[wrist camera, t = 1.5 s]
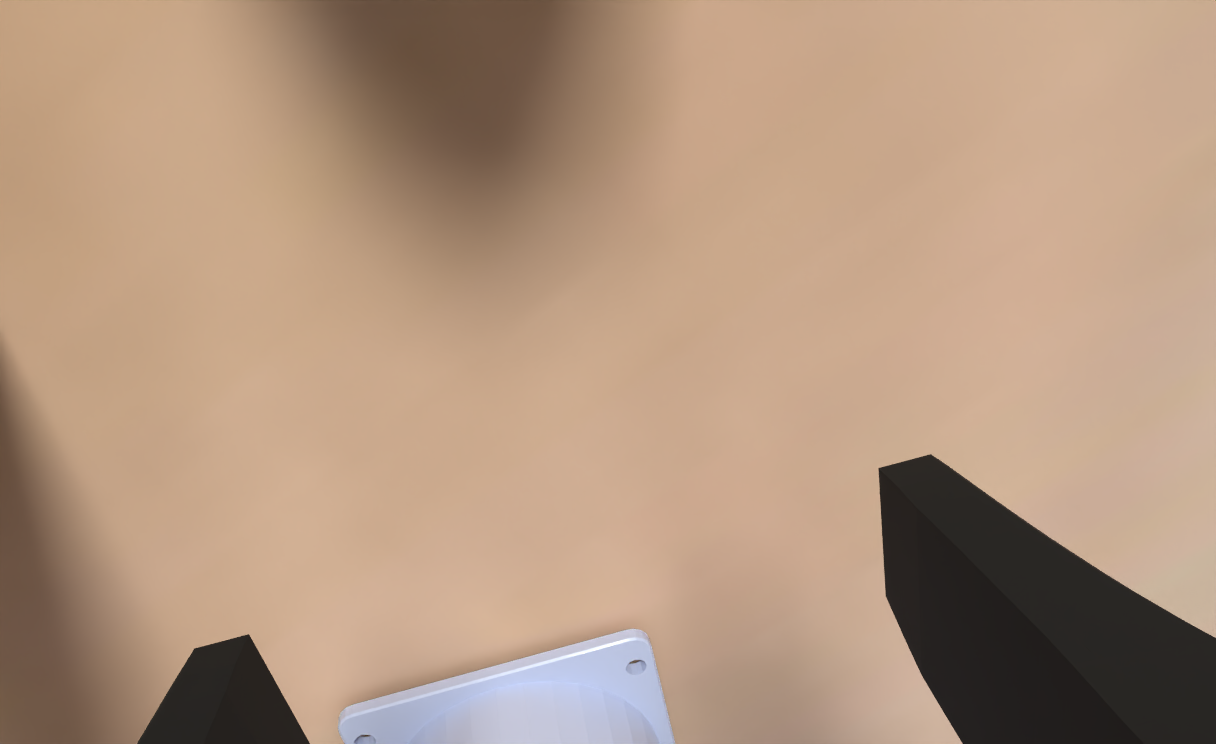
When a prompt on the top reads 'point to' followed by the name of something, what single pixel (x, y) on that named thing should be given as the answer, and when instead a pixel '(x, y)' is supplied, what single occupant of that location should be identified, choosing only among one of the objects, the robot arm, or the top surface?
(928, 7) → the top surface
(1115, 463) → the top surface
